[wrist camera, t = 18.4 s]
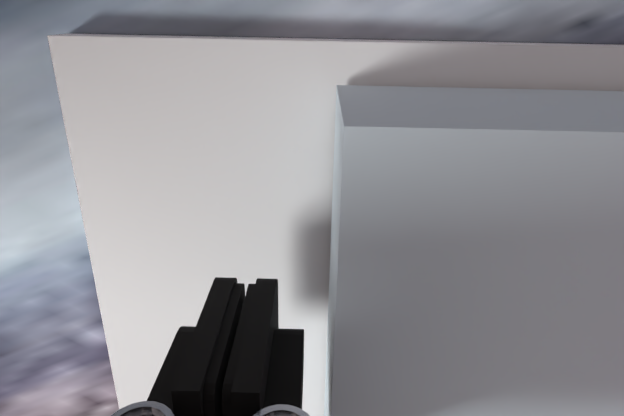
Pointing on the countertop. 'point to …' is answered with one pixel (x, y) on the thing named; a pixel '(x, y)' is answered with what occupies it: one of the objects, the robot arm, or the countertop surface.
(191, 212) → the vise
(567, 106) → the block
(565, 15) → the countertop surface
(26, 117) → the countertop surface
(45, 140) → the countertop surface
